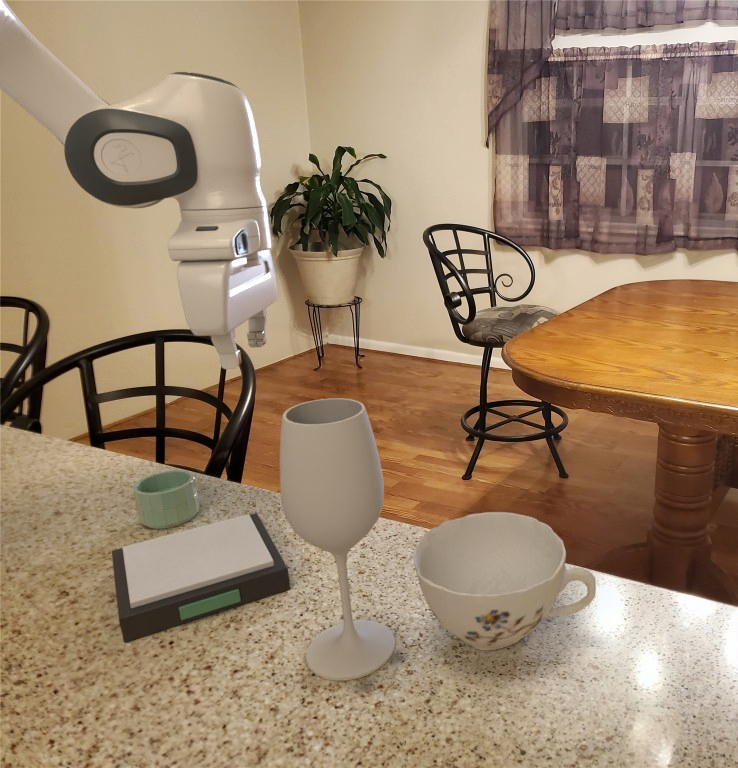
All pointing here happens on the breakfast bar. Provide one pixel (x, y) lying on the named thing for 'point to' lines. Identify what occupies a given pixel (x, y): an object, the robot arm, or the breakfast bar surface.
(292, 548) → the breakfast bar surface
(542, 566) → the teacup
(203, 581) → the scale
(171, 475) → the bowl
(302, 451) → the wineglass
